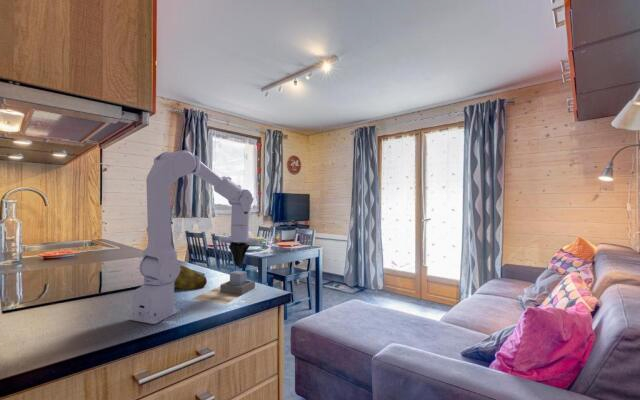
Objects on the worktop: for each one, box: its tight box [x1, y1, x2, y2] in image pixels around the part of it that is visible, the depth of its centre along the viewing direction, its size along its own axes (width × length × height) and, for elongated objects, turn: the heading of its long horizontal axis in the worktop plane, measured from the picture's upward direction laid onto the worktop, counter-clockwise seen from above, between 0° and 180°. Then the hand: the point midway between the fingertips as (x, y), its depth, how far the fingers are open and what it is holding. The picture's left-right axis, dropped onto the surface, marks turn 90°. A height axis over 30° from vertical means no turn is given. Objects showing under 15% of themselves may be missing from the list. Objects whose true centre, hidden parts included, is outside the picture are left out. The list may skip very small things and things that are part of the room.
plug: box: [229, 270, 248, 286], centre depth 107 cm, size 4×4×6 cm
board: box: [191, 286, 256, 305], centre depth 103 cm, size 18×12×1 cm, turn 163°
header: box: [219, 279, 256, 296], centre depth 107 cm, size 9×8×2 cm
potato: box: [174, 264, 208, 291], centre depth 108 cm, size 8×13×8 cm, turn 81°
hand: (238, 265), depth 107 cm, fingers closed
